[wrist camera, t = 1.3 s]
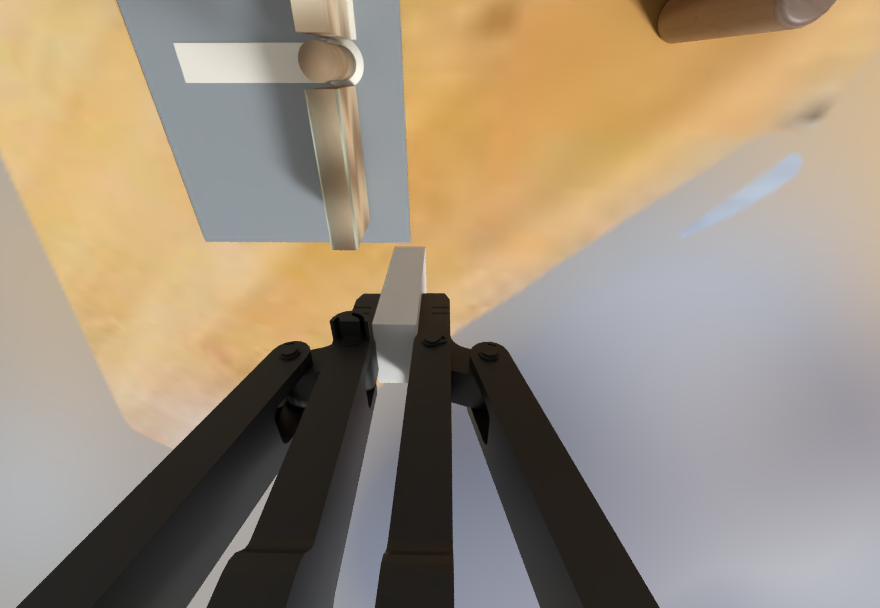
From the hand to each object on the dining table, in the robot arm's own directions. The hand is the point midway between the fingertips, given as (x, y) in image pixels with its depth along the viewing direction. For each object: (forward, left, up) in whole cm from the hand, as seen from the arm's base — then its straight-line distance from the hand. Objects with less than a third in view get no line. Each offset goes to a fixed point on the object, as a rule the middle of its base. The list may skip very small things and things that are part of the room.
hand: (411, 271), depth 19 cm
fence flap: (-2, -7, -20) cm, 21 cm away
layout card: (-9, -13, -20) cm, 26 cm away
